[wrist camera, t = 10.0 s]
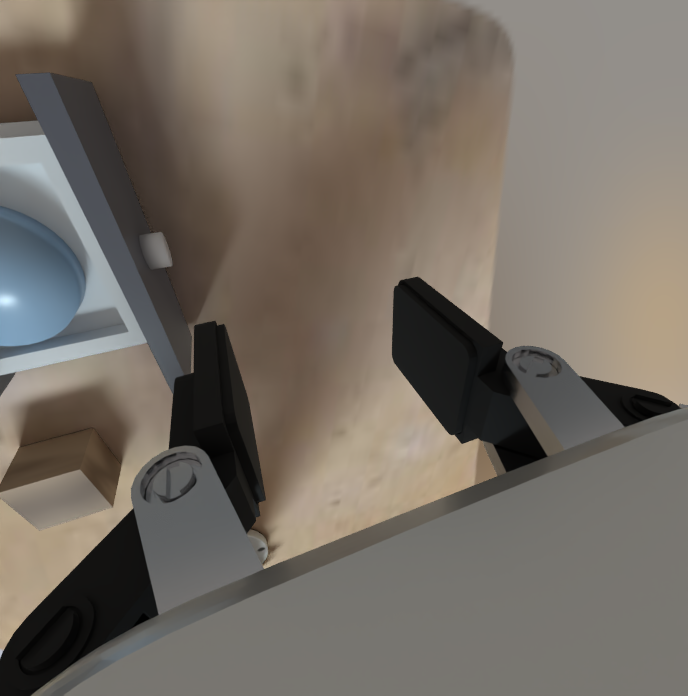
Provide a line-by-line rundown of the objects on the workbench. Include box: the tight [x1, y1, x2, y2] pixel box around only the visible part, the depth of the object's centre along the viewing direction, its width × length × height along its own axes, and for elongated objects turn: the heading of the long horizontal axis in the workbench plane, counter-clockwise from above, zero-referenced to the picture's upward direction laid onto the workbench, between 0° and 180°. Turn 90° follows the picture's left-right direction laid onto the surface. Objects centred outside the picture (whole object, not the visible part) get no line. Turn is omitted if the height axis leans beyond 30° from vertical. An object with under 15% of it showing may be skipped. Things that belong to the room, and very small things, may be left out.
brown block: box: [0, 428, 121, 531], centre depth 26 cm, size 5×5×4 cm
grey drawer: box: [0, 73, 192, 394], centre depth 17 cm, size 15×14×6 cm
